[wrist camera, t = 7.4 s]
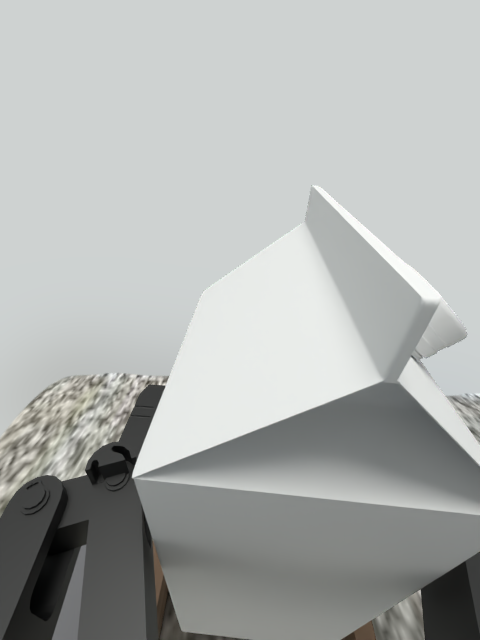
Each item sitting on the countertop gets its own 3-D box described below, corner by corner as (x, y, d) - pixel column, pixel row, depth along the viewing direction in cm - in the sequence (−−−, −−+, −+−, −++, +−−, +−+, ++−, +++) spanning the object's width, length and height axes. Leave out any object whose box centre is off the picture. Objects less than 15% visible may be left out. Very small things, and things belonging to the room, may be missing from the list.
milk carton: (180, 632, 13) (57, 266, 3) (205, 480, 19) (199, 176, 8) (327, 650, 13) (839, 335, 2) (307, 490, 19) (431, 194, 8)
